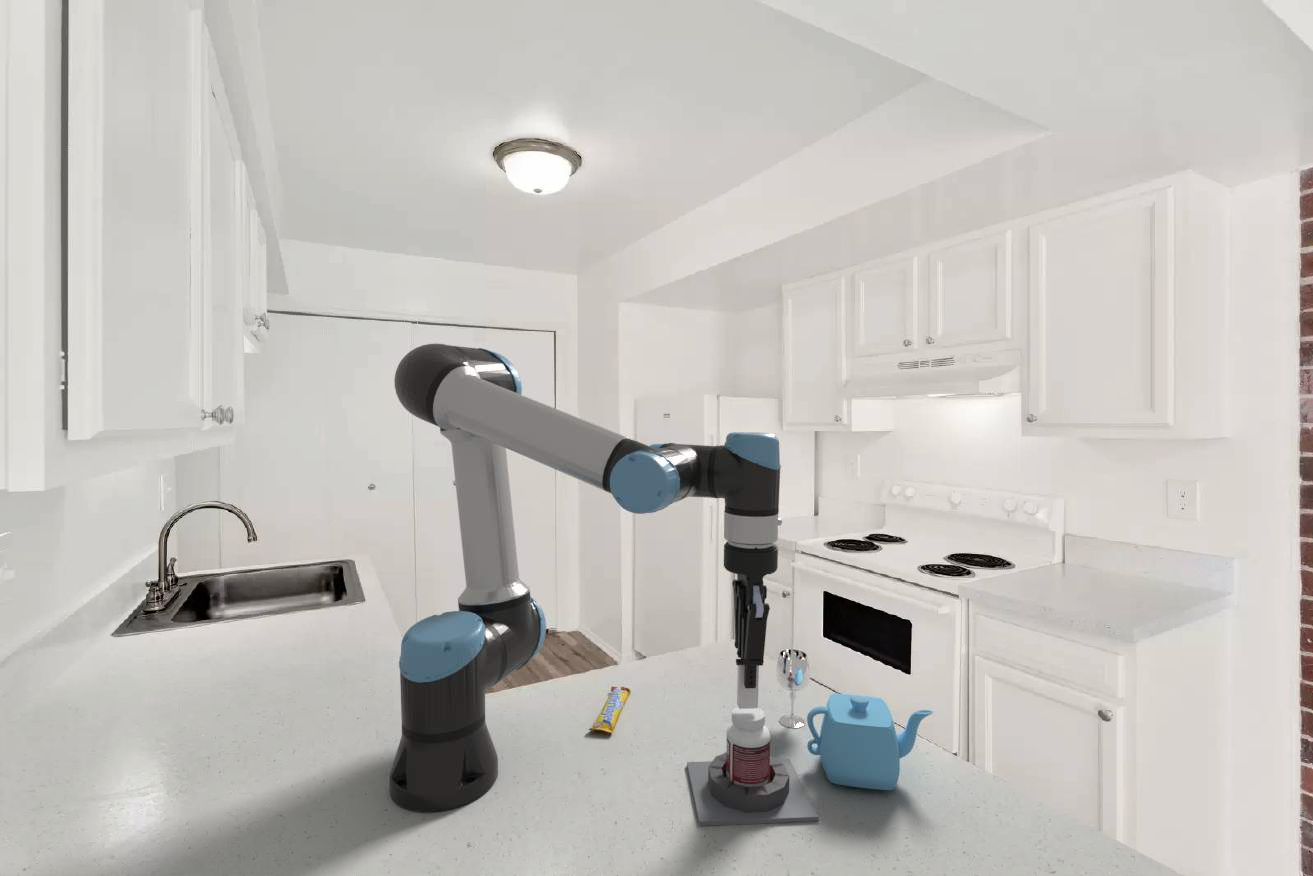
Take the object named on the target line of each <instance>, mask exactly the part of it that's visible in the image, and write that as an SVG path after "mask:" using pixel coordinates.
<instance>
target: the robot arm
mask: <svg viewBox="0 0 1313 876" xmlns="http://www.w3.org/2000/svg"><path fill="white" fill-rule="evenodd" d="M394 389H395V394H396V397H397V398H398V401H399V402H400V403H401V405H402V407H403V408H404V409H405V410H406V411H408V413H409V414H411V415H413V416H414V417H416V418H418V419H419V420H422V421H424V422H427V423H429V424H431V425H434V426H435V427H438V428H439V432H440V434H441V436H443V437H445V438H446V440H448V441H449V442H450V444H451V452H452V453H451V454H452V462H453V471H454V472H453V473H454V482H455V491H456V492H455V493H456V501H457V511H458V520H459V529H460V539H461V548H462V549H461V550H462V559H463V567H464V576H465V579H464V580H465V585H466V586H465V588H464V590H463V592H462V593H461V594H460V595H459V596H458V597H457V606H458V610H456V611H455V610H452V611H444V612H442V613H441V614H432V615H431V616H428V617H425V618H423V619H421V620H419V621H417V622H416V623H415V624H413V625H412V626H410V627H409V629H408V630H406V632H405V634H404V635H403V637H402V639H401V643H400V655H399V662H398V667H399V668H398V669H399V677H400V678H399V679H400V707H401V709H400V710H401V711H400V712H401V737H400V740H399V743H398V747H397V749H396V753H395V756H394V760H393V762H392V764H391V769H390V772H389V778H388V779H389V795H390V798H391V799H392V801H393V802H395V804H396V805H398V806H399V807H400V808H401V807H402V808H403V809H407V810H411V811H415V812H441V811H446V810H451V809H454V808H455V809H456V808H458V807H461V806H464V805H466V804H469V803H471V802H473V801H475V800H477V799H478V798H480V797H482V796H483V795H484V794H486V793H487V792H488V791H489V790H490V789H491V788H492V787H493V786H494V785H495V782H496V781H497V779H498V775H499V761H498V753H497V750H496V747H495V745H494V741H493V740H492V737H491V734H490V731H489V729H488V726H487V722H486V693H487V691H488V690H489V689H491V688H492V687H494V686H496V685H497V684H498V683H499V682H501V681H502V680H504V679H506V678H507V677H508V676H510V675H511V674H514V672H515V671H518V670H520V669H522V668H523V667H524V666H526V665H527V664H528V663H529V662H530V661H531V660H532V659H533V658H534V657H535V656H536V655H537V654H538V653H539V651H540V650H541V649H542V647H543V645H544V642H545V638H546V634H547V620H546V617H545V616H546V615H545V613H544V611H543V609H542V607H541V605H538V604H537V601H536V599H534V597H532V596H531V589H530V587H529V586H528V585H527V584H526V582H523V580H521V578H520V574H519V563H518V554H517V545H516V543H517V542H516V534H515V524H514V517H513V516H514V515H513V507H512V497H511V486H510V475H509V466H508V465H509V464H508V457H507V449H508V450H510V451H512V452H514V453H516V454H518V455H522V456H523V457H526V458H528V459H530V460H533V461H535V462H537V463H540V464H542V465H545V466H546V467H549V468H551V469H554V470H556V471H558V472H561V473H563V474H565V475H567V476H570V477H572V478H575V480H576V479H577V480H580V481H582V482H584V483H585V484H588V485H590V486H593V487H595V488H598V489H600V490H602V491H605V492H606V493H608V494H611V495H612V497H613V498H614V500H615V501H616V503H617V504H618V505H619V506H620V507H621V508H622V509H623V510H625V511H627V512H629V513H632V514H636V515H637V514H638V515H641V514H642V515H644V514H652V513H656V512H659V511H662V510H664V509H666V508H667V507H669V506H670V505H672V504H674V503H678V502H680V501H682V500H684V499H686V498H689V497H690V498H711V499H712V498H713V499H724V512H723V538H724V540H725V541H726V542H725V544H724V545H723V568H724V569H725V570H726V571H728V572H729V573H732V574H734V575H736V576H737V577H736V579H733V580H732V582H731V584H732V590H733V613H734V615H733V617H734V648H735V649H737V650H736V655H737V658H736V659H735V663H736V666H737V679H736V683H737V685H736V686H737V687H736V689H737V690H736V704H737V707H739V709H750V708H759V679H760V678H759V677H760V675H759V674H760V673H759V672H760V669H759V668H760V667H762V666H763V665H764V662H765V660H764V657H765V646H766V634H767V625H768V618H769V614H770V613H769V612H770V609H771V607H770V604H769V603H766V599H767V596H768V595H767V594H768V588H767V586H766V585H765V584H764V578H765V576H767V575H772V574H774V573H775V572H776V571H777V570H778V567H779V565H778V564H779V563H778V562H779V559H778V558H779V547H778V546H777V544H775V543H776V542H777V541H778V540H779V529H778V526H779V527H780V526H782V524H783V520H782V519H781V518H779V513H780V512H779V511H780V507H779V506H780V486H781V485H780V484H781V482H780V481H781V469H782V465H781V463H780V459H781V458H780V441H779V438H778V436H777V435H775V434H774V433H770V432H756V431H754V432H753V431H751V432H747V431H746V432H745V431H741V432H740V431H737V432H736V431H735V432H734V431H733V432H729V433H728V434H727V435H726V438H725V442H724V445H701V444H686V443H685V444H684V443H674V442H668V443H667V442H665V443H652V444H650V445H647V444H645V443H642V442H640V441H637V440H635V439H631V438H629V437H627V436H625V435H623V434H620V433H617V432H615V431H612V430H610V429H607V428H604V427H603V426H600V425H598V424H595V423H593V422H591V421H588V420H585V419H582V418H580V417H577V416H574V415H572V414H570V413H567V412H565V411H562V410H560V409H557V408H555V407H553V406H550V405H547V404H545V403H542V402H539V401H538V400H535V399H532V398H530V397H528V396H525V395H523V393H522V392H523V391H522V390H523V386H522V380H521V376H520V374H519V372H518V370H517V368H516V367H515V366H514V364H513V363H512V362H511V361H510V360H509V359H508V358H507V357H506V356H504V355H502V354H500V353H497V352H495V351H491V350H488V349H487V348H486V349H485V348H480V347H479V348H476V347H475V348H474V347H469V346H467V347H466V346H457V345H450V344H444V343H428V344H423V345H420V346H418V347H415V348H413V349H412V350H410V351H409V352H408V353H407V354H406V355H405V356H403V358H402V359H401V360H400V361H399V363H398V365H397V367H396V369H395V375H394Z"/></svg>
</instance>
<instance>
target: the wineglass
mask: <svg viewBox="0 0 1313 876" xmlns="http://www.w3.org/2000/svg"><path fill="white" fill-rule="evenodd" d="M776 662H777V663H776V667H775V674H776V681H777V683H778V684H779V686H780V688H782V689H783V690H785V691H788V692H790V693H789V699H790V714H785V715H782V716H780V717H779V723H780V724H781V725H782V726H784V727H786V728H790V729H800V728H802V727H804V726H805V725H806V720H805V718H804V719H803V717H800V716H799V715H795V713H794V712H795V708H794V705H795V700H796V692H797V693H798V692H800V691H804V689H806V688H807V687H808V685H809V683H810V677H811V670H810V664H809V659H808V655H807V654H806V652H804V651H802V650H799V649H789V648H788V649H783V650H780V652H779V654H778V657H777V661H776Z"/></svg>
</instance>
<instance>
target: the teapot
mask: <svg viewBox="0 0 1313 876" xmlns="http://www.w3.org/2000/svg"><path fill="white" fill-rule="evenodd" d="M933 713H934V711H933V710H929V709H921V710H915V712H913V713H912V714H911V715H910V716H909V718H908V721H907V722H906V723H907V724H906V727H905V729H904V730H903V731H901V733H897V731H896V726H895V723H894V719H893V716H892V713H891V710H890V708H889V706H888V705H887V703H886V702H885V700H883V699H882V698H881V697H875V696H866V695H860V694H859V695H858V694H857V695H856V694H848V693H846V694H845V693H832V694H830V695H829V696H828V699H827V703H826V706H822V705H820V706H816V707H815V706H814V707H813V708H812V709H811V710H810V711H808V714H807V717H806V722H807V726H808V729H809V732H810V733H811V736H812V737H813V738H812V739H810V740H808V742H807V745H806V747H807V750H808V752H809V753H810V754H811V755H814V756H819V757H820V761H821V764H822V767H823V770H824V772H825V776H826V777H827V780H829V782H830V783H833V784H835V785H840V786H846V787H853V788H859V789H860V788H861V789H868V790H879V791H880V790H881V791H893V790H894V789H895V788H896V786H897V784H898V781H899V776H900V770H901V769H900V767H901V765H900V763H901V762H900V759H902V758H904V757H906V756H907V755H909V754H910V753H911V751H912V750H913V748H914V746H915V743H916V739H917V734H918V729H919V726H920V724H921V722H922V721H923V720H924V719H925V718H926V717H929V716H931V715H932V714H933ZM820 714H822V715H823V718H822V721H821V727H820V732H819V733H818V731H817V729H816V727H815V724H814V717H816V716H817V715H820ZM813 745H816V746H817V747H813Z"/></svg>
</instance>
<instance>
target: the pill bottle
mask: <svg viewBox="0 0 1313 876" xmlns="http://www.w3.org/2000/svg"><path fill="white" fill-rule="evenodd" d="M765 714H766V713H765V712H764V711H763V709H761V708H759V707H758V708H750V709H739V707H738V706H736V707H734V708H733V709H732V710H731V722H732V723H731V724H730V725H729V726H728V728H727V730H726V752H725V753H726V778H727V779H728V780H729V781H731V782H732V783H734V784H737V785H741V786H744V787H762V786H764V785H766V784H768V783H770V755H771V734H770V730H769V729H768V727H767V726H766V725H765V724H766V715H765Z"/></svg>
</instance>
